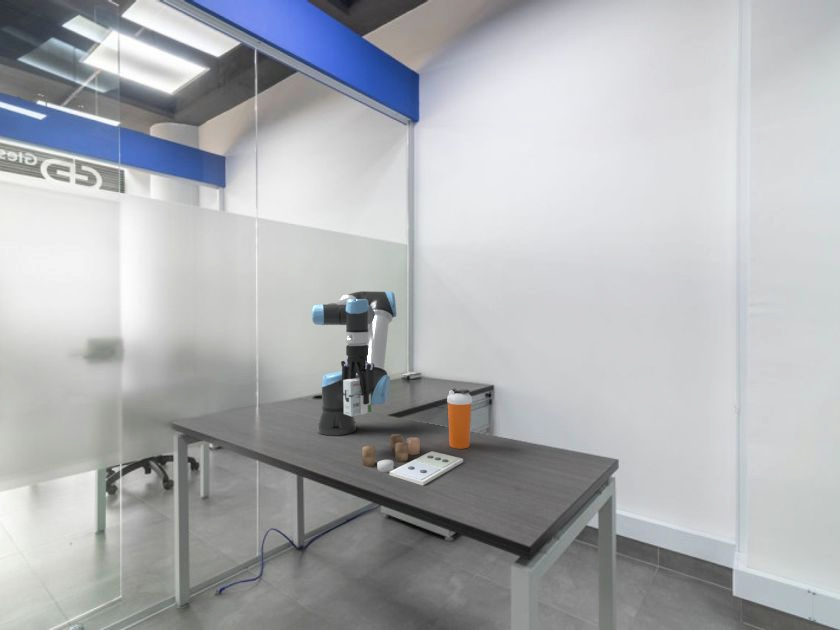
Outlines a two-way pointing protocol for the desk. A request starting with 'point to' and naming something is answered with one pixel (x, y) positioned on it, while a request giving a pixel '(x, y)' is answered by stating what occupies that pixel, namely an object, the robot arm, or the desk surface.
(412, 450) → the peach rounded capsule
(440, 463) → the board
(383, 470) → the light gray rounded ball
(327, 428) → the robot arm
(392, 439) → the brown rounded capsule
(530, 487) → the desk surface
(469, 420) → the shaker bottle
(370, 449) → the tan rounded capsule
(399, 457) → the brown rounded capsule
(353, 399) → the ink box
